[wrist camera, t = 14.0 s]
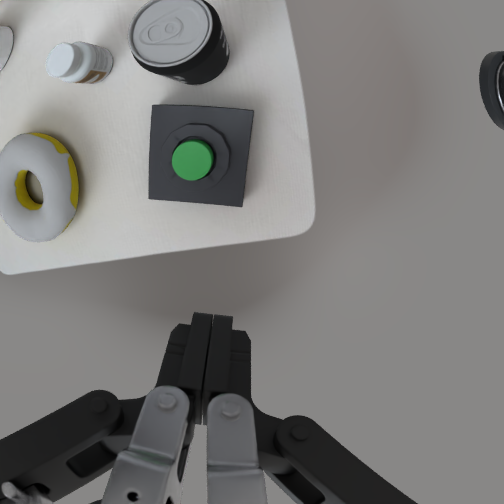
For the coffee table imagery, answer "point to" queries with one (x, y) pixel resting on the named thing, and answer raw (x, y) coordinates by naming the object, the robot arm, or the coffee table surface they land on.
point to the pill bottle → (79, 62)
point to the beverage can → (179, 40)
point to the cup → (5, 44)
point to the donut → (52, 182)
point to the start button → (192, 159)
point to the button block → (220, 141)
